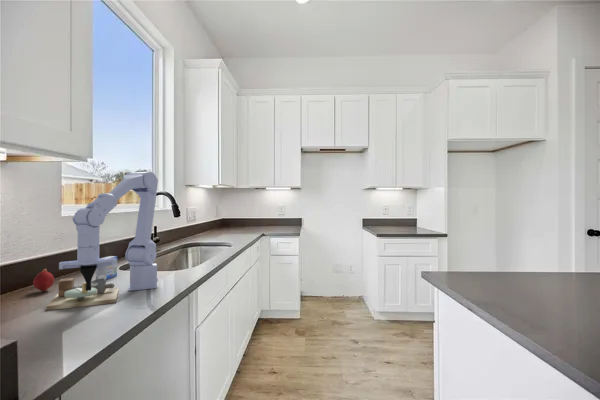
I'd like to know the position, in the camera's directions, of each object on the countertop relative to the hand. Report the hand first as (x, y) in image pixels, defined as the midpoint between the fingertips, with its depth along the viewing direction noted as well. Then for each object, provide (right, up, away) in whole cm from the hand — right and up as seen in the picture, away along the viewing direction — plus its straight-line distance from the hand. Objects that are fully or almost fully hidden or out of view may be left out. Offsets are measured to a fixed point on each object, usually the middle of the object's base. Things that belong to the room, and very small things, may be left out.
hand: (88, 290), depth 98 cm
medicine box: (-17, -5, +36) cm, 40 cm away
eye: (-2, -4, +11) cm, 12 cm away
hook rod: (-6, -3, +9) cm, 11 cm away
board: (-4, -5, +6) cm, 9 cm away
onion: (-26, -5, +15) cm, 30 cm away
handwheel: (-4, -3, +2) cm, 6 cm away
